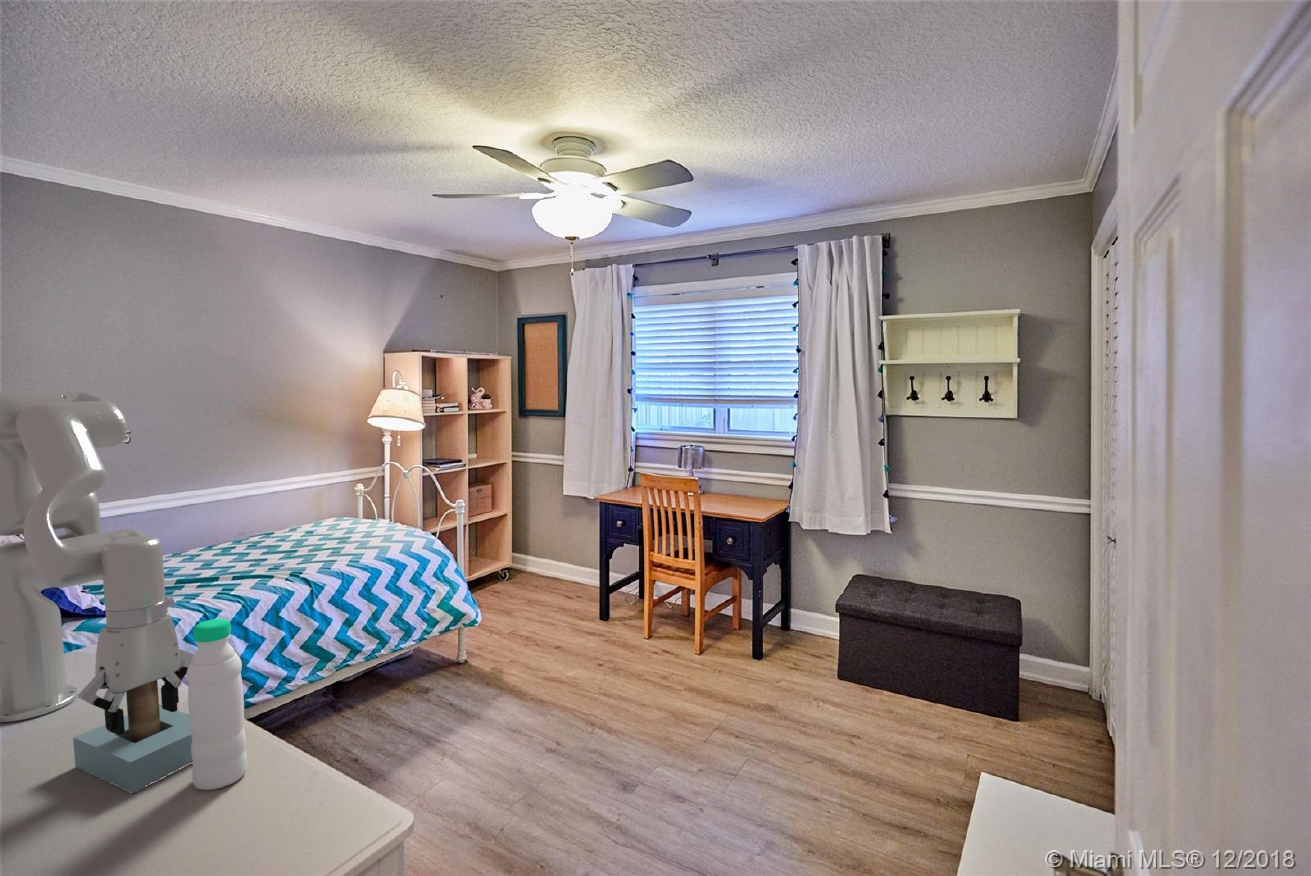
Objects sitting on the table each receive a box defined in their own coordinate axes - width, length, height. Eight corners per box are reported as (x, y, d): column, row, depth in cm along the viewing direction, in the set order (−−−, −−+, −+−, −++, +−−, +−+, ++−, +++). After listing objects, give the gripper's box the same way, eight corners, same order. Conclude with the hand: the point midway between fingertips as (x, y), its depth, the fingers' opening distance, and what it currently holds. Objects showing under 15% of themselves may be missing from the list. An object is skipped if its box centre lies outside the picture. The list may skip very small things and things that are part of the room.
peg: (125, 763, 104) (119, 679, 103) (153, 750, 108) (148, 669, 107) (139, 769, 103) (134, 684, 101) (167, 756, 106) (162, 674, 105)
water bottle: (220, 795, 96) (211, 633, 94) (181, 789, 98) (171, 629, 95) (258, 767, 103) (250, 616, 101) (221, 762, 105) (212, 612, 102)
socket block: (75, 767, 103) (73, 737, 103) (158, 730, 114) (157, 703, 114) (132, 794, 97) (130, 762, 96) (215, 752, 107) (213, 723, 107)
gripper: (181, 595, 113) (187, 692, 114) (56, 629, 97) (65, 742, 98) (208, 601, 109) (214, 701, 111) (83, 638, 94) (92, 754, 95)
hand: (144, 720), depth 105 cm, fingers open, 7 cm apart
